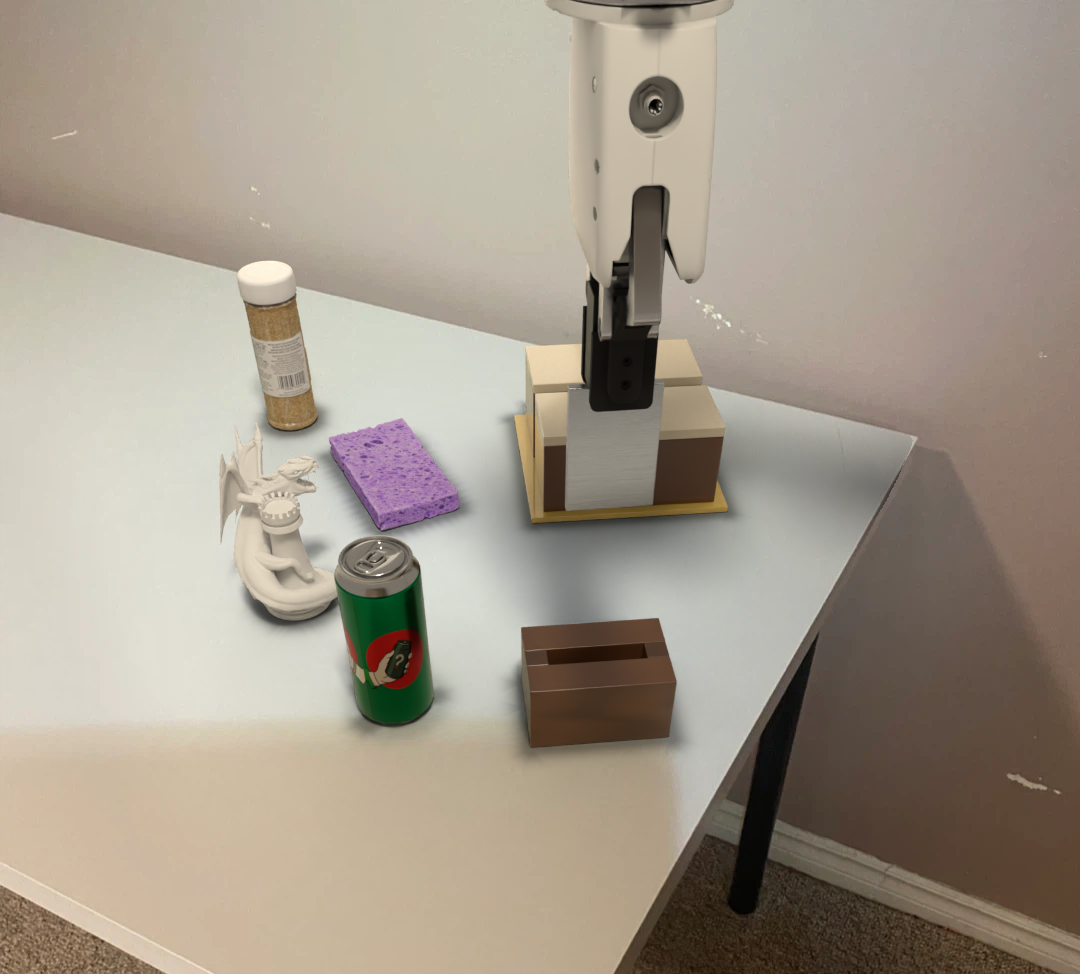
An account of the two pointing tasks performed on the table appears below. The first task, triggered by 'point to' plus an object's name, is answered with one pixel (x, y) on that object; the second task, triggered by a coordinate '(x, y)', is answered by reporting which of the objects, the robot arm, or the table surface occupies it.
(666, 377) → the cake
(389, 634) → the soda can
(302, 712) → the table surface
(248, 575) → the figurine
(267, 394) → the spice jar
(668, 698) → the knife stand
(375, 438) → the sponge
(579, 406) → the knife
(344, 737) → the table surface
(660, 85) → the robot arm
